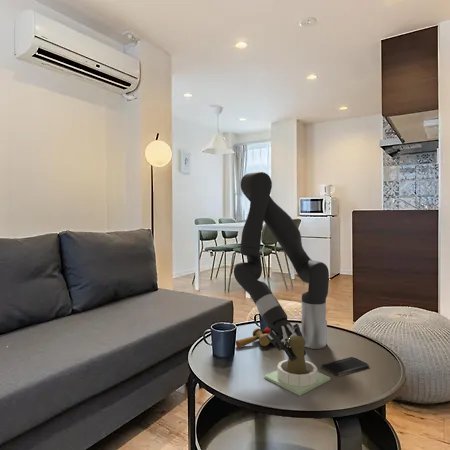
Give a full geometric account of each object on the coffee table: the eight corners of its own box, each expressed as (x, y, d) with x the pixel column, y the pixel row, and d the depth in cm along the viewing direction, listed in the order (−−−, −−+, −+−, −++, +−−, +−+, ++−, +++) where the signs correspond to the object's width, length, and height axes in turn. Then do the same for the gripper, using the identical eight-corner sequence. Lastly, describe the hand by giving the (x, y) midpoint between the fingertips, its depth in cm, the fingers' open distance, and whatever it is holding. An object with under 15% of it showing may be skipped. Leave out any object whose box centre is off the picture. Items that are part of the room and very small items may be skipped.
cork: (308, 375, 109) (309, 340, 108) (289, 376, 108) (290, 340, 108) (302, 366, 115) (303, 333, 114) (284, 367, 114) (285, 333, 114)
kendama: (244, 355, 133) (283, 340, 141) (240, 338, 133) (279, 325, 141) (235, 351, 140) (272, 338, 148) (231, 335, 140) (269, 323, 148)
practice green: (295, 364, 122) (295, 353, 121) (330, 379, 111) (330, 367, 111) (264, 378, 112) (264, 366, 112) (299, 395, 101) (299, 382, 101)
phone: (370, 365, 119) (336, 374, 113) (370, 368, 119) (336, 377, 113) (352, 356, 126) (319, 364, 120) (352, 359, 126) (319, 367, 120)
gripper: (261, 308, 113) (290, 358, 104) (291, 301, 122) (320, 346, 113) (250, 321, 117) (277, 369, 108) (279, 312, 126) (306, 357, 117)
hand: (299, 357), depth 111 cm, fingers closed on cork, 4 cm apart
